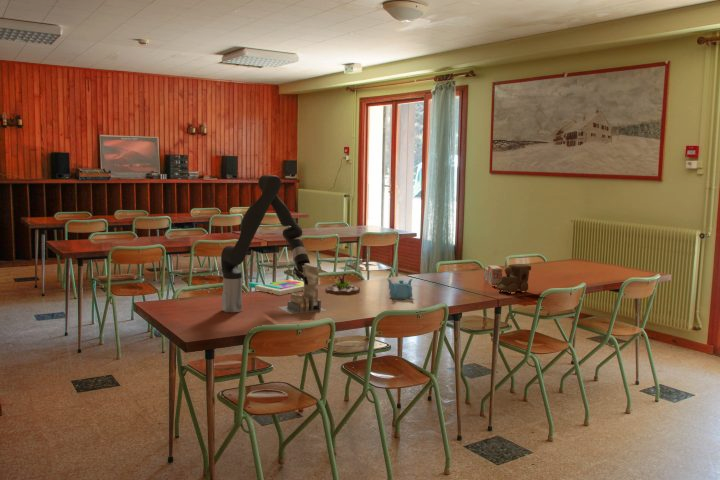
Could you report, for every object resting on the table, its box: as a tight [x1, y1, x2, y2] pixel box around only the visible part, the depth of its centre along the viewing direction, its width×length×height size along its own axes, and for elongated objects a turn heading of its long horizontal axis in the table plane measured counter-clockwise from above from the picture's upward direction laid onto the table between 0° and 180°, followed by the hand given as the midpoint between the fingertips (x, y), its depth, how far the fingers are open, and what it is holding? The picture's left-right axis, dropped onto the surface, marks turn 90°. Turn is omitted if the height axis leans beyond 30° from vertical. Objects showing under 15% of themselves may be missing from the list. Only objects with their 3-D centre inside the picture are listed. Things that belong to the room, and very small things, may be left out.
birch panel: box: [303, 263, 320, 306], centre depth 337 cm, size 2×12×20 cm, turn 30°
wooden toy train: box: [496, 263, 532, 293], centre depth 400 cm, size 20×11×17 cm, turn 125°
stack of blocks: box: [483, 264, 503, 285], centre depth 425 cm, size 21×6×12 cm, turn 3°
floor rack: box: [278, 298, 326, 315], centre depth 336 cm, size 20×16×6 cm
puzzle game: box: [248, 278, 304, 296], centre depth 394 cm, size 30×3×30 cm
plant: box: [324, 273, 361, 296], centre depth 389 cm, size 20×20×11 cm
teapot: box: [386, 278, 414, 300], centre depth 376 cm, size 15×15×10 cm
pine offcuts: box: [290, 292, 309, 312], centre depth 335 cm, size 5×12×7 cm, turn 29°
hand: (309, 283), depth 338 cm, fingers closed on birch panel, 2 cm apart
